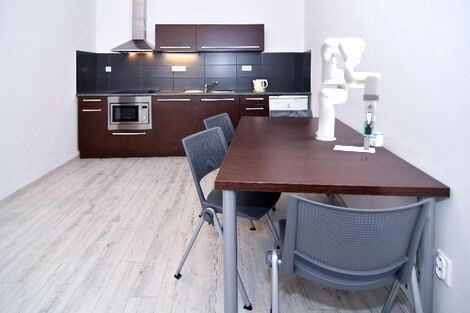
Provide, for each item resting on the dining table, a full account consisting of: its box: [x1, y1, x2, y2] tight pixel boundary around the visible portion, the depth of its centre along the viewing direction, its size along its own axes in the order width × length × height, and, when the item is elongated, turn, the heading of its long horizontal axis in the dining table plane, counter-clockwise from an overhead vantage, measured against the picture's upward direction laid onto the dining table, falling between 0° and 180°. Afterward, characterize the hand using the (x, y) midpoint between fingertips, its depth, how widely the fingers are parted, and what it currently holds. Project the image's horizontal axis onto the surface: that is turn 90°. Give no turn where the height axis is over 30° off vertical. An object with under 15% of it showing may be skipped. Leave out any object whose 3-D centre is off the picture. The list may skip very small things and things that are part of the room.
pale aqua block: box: [361, 120, 375, 136], centre depth 194 cm, size 5×5×7 cm
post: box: [363, 135, 371, 150], centre depth 196 cm, size 3×3×7 cm
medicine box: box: [366, 131, 384, 148], centre depth 209 cm, size 8×4×9 cm, turn 21°
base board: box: [333, 145, 376, 153], centre depth 199 cm, size 20×12×2 cm, turn 71°
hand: (367, 133), depth 195 cm, fingers closed on pale aqua block, 5 cm apart
